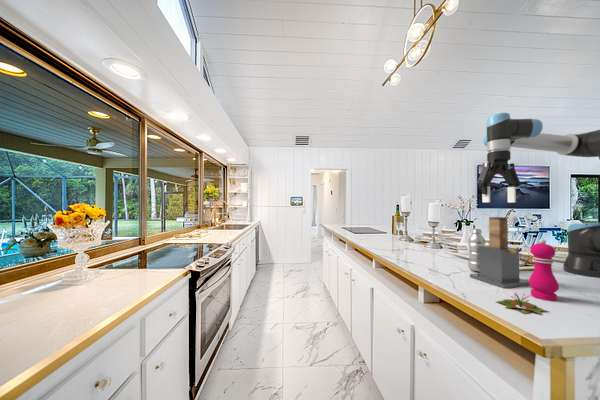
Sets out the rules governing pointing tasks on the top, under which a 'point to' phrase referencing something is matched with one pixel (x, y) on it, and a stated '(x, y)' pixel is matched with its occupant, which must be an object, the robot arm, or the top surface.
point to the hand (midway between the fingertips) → (499, 202)
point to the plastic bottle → (475, 249)
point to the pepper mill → (543, 272)
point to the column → (498, 232)
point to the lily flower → (521, 304)
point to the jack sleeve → (500, 267)
